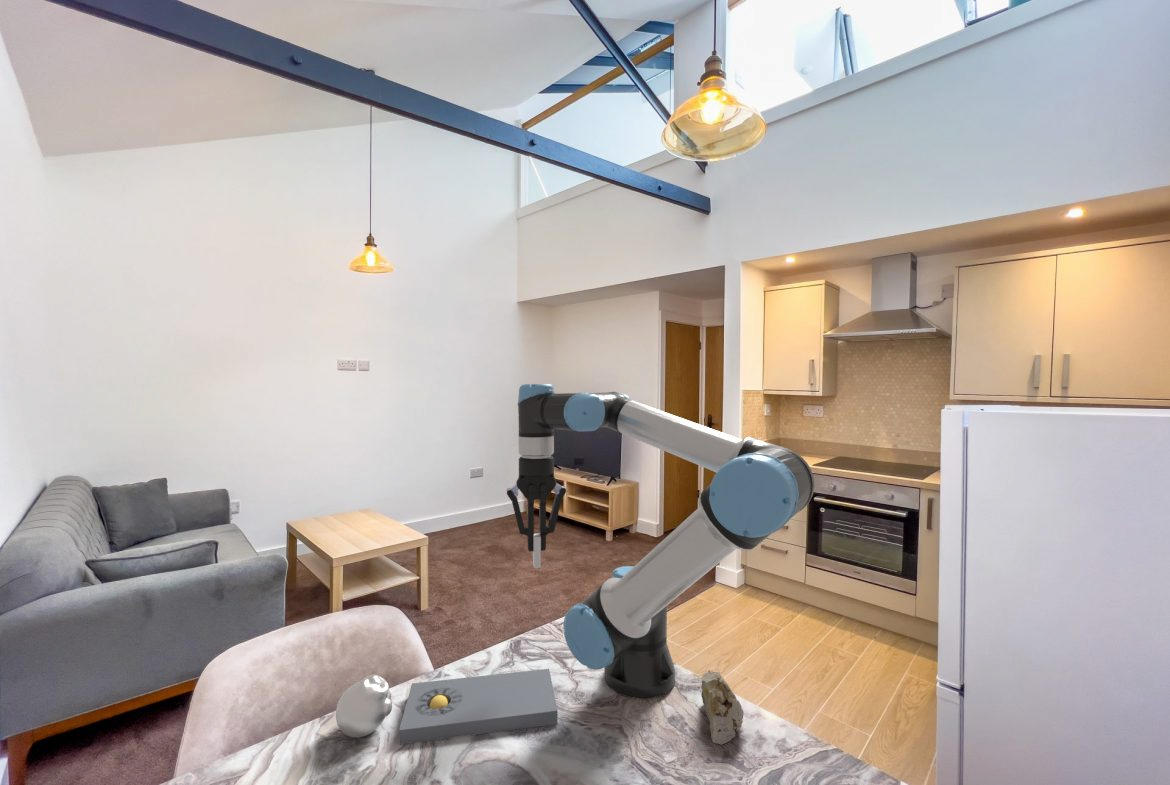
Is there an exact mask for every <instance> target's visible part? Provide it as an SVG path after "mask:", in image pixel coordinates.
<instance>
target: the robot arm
mask: <svg viewBox="0 0 1170 785" xmlns="http://www.w3.org/2000/svg"><path fill="white" fill-rule="evenodd" d="M554 390H555V389H554V386H553V385H552V384H551V383H524V384H521V385H520V386H519V388H518V398H517V399H518V402H517V406H518V407H517V409H518V411H517V413H518V454H519V455H520V456H519V458H518V478H517V480H516V482H515V483H516V484H515V485H513V486H512V487H508V488H507V489H506V495H507V497H508V498H509V499H510V501H511V503H512V504H511V505H512V508H513V511H514V515H515V519H516V523H517V527H518V531H519V534H520V535H525V536H526V537H527V550H528V552H529V553H530V552H532V565H533V569H540V568H542V554H541V553H542V551H546V549H547V535H549V534H551V533H554V532H555V529H556V525H557V521H558V516H559V513H560V508H561V503H562V500H563V498H564V497H565V494H566V493H567V488H566V487H565V486H564V485H560V484H559V483H557V480H556V478H555V458H554V456H552V455H554V453H555V437H554V435H555V434H554V433H555V430H562V431H564V430H565V431H575V432H579V433H582V432H593V431H596V430H598V429H599V428H608V429H610V430H612V431H615V432H618V433H620V434H623V435H625V436H628V437H630V438H633V439H635V440H636V441H637V440H638V441H640V442H642V443H644V444H646V445H649V446H652V447H654V448H657V449H659V450H661V451H663V452H666V453H669V454H671V455H673V456H676V457H679V458H681V459H683V460H685V461H688V462H690V463H692V464H695V465H698V466H700V467H702V468H705V469H707V470H709V471H712V472H715V474H714V476H713V478H712V480H711V483H710V484H709V485H707V486H706V487H705V488H704V489H703V490H702V491H701V492H700V493H699V497H698V500H699V501H698V502H699V507H698V508H697V509H696V510H694V511H693V512H692V513H691V514H690V515H689V516H688V517H687V518H686V519H685V520H683V521H682V522H681V523H680V524H679V525H678V526H677V527H675V529H673V531H672V532H670V533H669V534H668V535H667V536H666V537H665V538H663V539H662V541H661V542H659V543H657V545H656V546H655V547H654V548H652V549H651V550H650V552H649V553H647V554H646V555H645V556H644V557H643V558H642V559H641V560H640V561H638V562H637V563H636V564H635V565H634V566H632V565H630V566H629V565H627V566H619V567H617V568H614V569H613V571H612V574H611V578H608V579H607V580H605V581H604V582H603V583H602V584H601V585H600V586H599V587H598V588H596V589H595V590H594V591H593V592H592V593H591V594H590V595H589V596H588V597H586V598H585V599H584V600H582V601H581V602H579V603H575V604H574V605H573V606H572V607H571V608H570V609H569V610H568V611H567V612H566V614H565V616H564V619H563V626H562V627H563V635H564V640H565V642H566V645H567V648H568V649H569V651H570V653H571V654H572V656H573V657H574V658H575V659H576V660H577V661H578V663H580V665H582V666H586V667H587V668H588V669H590V670H594V671H595V670H597V671H598V670H602V669H604V675H603V676H604V681H605V683H606V684H607V686H608V687H609V688H610V689H611V690H613V691H614V692H616V693H618V694H619V695H622V696H624V697H627V698H632V699H641V700H645V699H646V700H647V699H655V698H658V697H661V696H663V695H666V694H667V693H669V692H670V691H671V690H673V688H674V686H675V684H676V668H675V665H674V662H673V658H672V655H671V653H670V649H669V647H668V643H667V641H668V635H667V634H668V630H667V629H668V627H667V626H668V624H667V623H668V620H667V619H668V617H667V616H668V609H667V608H668V606H669V605H670V604H671V603H672V602H673V601H674V600H676V599H677V598H678V597H680V595H682V594H683V593H684V592H686V591H687V590H688V589H689V588H690V587H691V586H692V585H694V584H695V583H696V582H698V581H699V580H700V579H701V578H703V577H704V576H705V575H706V574H707V573H709V572H710V571H711V570H712V569H713V568H715V567H716V566H717V565H718V564H719V563H721V562H722V561H723V560H725V559H726V558H727V557H729V555H731V554H732V553H733V552H735V550H741V551H747V552H748V551H752V550H753V549H755V548H756V547H757V546H758V545H759V544H761V543H762V542H763V541H765V540H766V539H767V538H768V537H769V536H771V535H772V534H775V533H776V532H777V531H779V530H781V529H782V528H783V527H784V526H785V525H786V524H787V523H788V522H790V520H791V519H792V518H793V517H795V516H796V515H797V514H798V513H800V512H801V511H802V510H804V508H806V507H807V505H808V504H809V503H810V502H811V499H812V497H813V495H814V493H815V477H814V473H813V471H812V469H811V467H810V465H809V464H808V462H807V461H806V459H804V457H803V456H801V455H800V454H799V453H797V452H795V451H794V450H791V449H789V448H786V447H784V446H781V445H777V444H774V443H770V442H767V441H763V440H760V439H757V438H754V437H752V436H748V437H746V438H744V439H741V438H738V437H735V436H734V435H730V434H727V433H725V432H722V431H719V430H716V429H713V428H710V427H708V426H705V425H702V424H700V423H696V422H694V421H691V420H688V419H685V418H683V417H679V416H677V415H674V414H672V413H669V412H665V411H663V410H661V409H658V408H654V407H652V406H649V405H647V404H643V403H640V402H638V401H636V400H633V399H631V398H630V397H629V396H628V395H627V394H626V393H622V392H617V391H608V392H573V393H572V392H571V393H570V392H568V393H567V392H565V393H564V392H563V393H559V392H558V393H557V392H555V391H554ZM552 491H553V492H554V499H553V501H552V506H551V511H550V515H549V519H548V524H547V498H548V497H549V495H550V494H551V493H552ZM519 492H521V494H522V495H523V496H524V498H525V499H526V501H527V502H526V503H527V504H526V505H527V508H526V509H527V510H526V511H527V513H526V514H527V522H526V523H527V525H526V526H527V527H526V526H525V525H524V520H523V516H522V512H521V509H520V504H519V500H518V496H519ZM535 500H538V501H539V502H538V505H539V506H538V512H539V514H538V515H539V516H538V519H539V521H538V522H539V523H538V525H539V527H538V528H539V531H538V532H539V533H535Z"/></svg>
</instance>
